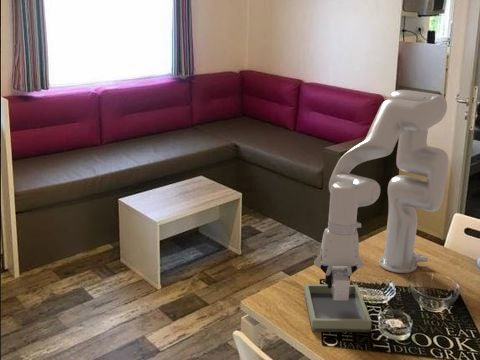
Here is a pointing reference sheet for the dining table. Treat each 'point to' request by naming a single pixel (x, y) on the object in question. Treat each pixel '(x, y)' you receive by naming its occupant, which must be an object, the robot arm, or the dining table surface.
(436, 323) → the dining table surface
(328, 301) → the case
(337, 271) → the bar
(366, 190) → the robot arm
